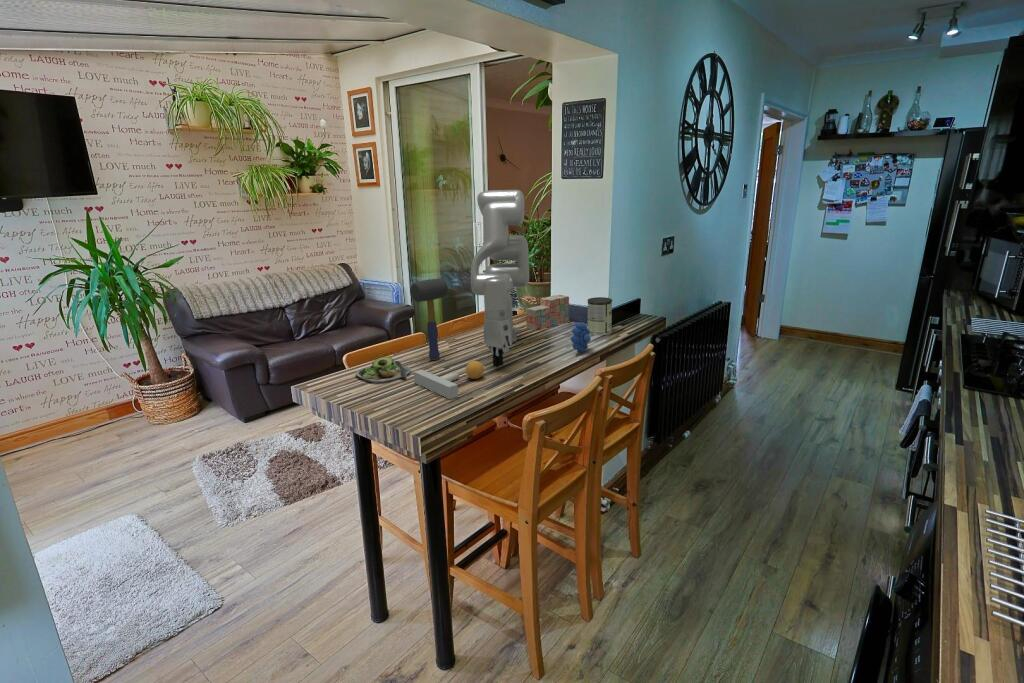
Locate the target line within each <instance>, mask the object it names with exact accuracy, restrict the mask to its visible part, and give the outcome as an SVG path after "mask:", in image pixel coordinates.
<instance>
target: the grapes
mask: <svg viewBox="0 0 1024 683" xmlns="http://www.w3.org/2000/svg"><path fill="white" fill-rule="evenodd" d="M571 333H572V335H571V337H570V341H571V343H573V344H572V345H571V346H572V348H573V350H575V351H577V353H579V354H580V353H582V352H584V351H585V350H587V349H588V347H589V346H588V344H589V343H590V342H591V336H590V335H591V334H590V331H589V329H588V324H586V323H585V322H579V321H578V322H576V323H575V325H574V327H573V328H572V329H571Z"/></svg>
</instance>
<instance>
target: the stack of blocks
mask: <svg viewBox="0 0 1024 683" xmlns="http://www.w3.org/2000/svg"><path fill="white" fill-rule="evenodd" d="M525 311H526V313H525V314H526V315H525V316H526V317H525V318H526V329H528V330H532V331H539V330H544V329H547V328H548V329H549V328H551V327H555V326H559V325H561V324H566V323H569V322H570V296H569V295H563V294H557V295H555V294H554V295H551V296H547V297H542V298H540V305H537V306H532V307H527V308H526V310H525Z"/></svg>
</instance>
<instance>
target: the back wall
mask: <svg viewBox="0 0 1024 683" xmlns="http://www.w3.org/2000/svg"><path fill="white" fill-rule="evenodd" d="M441 377H442V376H438V375H435V374H433V373H430V372H429V371H426V370H424V369H419V370H415V371H413V378H414V380H413V381H414V384H415V383H416V385H417V386H420V387H422V386H423V387H422V388H424V387H425V388H424V389H426V388H427V389H426V390H428V389H429V391H430V390H431V392H433V391H434V392H433V393H435V392H436V393H435V394H437V393H438V394H437V395H439V394H440V395H439V396H441V395H442V396H441V397H443V396H444V398H445V397H446V399H448V400H450V399H451V400H453V398H454V399H456V398H455V397H457V398H458V397H459V390H458V383H455V382H453V381H451V382H450V381H448V380H445V379H443V378H441Z"/></svg>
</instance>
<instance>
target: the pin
mask: <svg viewBox="0 0 1024 683" xmlns="http://www.w3.org/2000/svg"><path fill="white" fill-rule="evenodd" d="M440 377H441V378H443V379H445V380H448V381H450V382H454V381H457V380H459V379H460V375H459V373H458V372H456V371H455V372H453V373H449V374H446V375H443V376H440ZM456 379H457V380H456ZM453 380H454V381H453Z"/></svg>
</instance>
